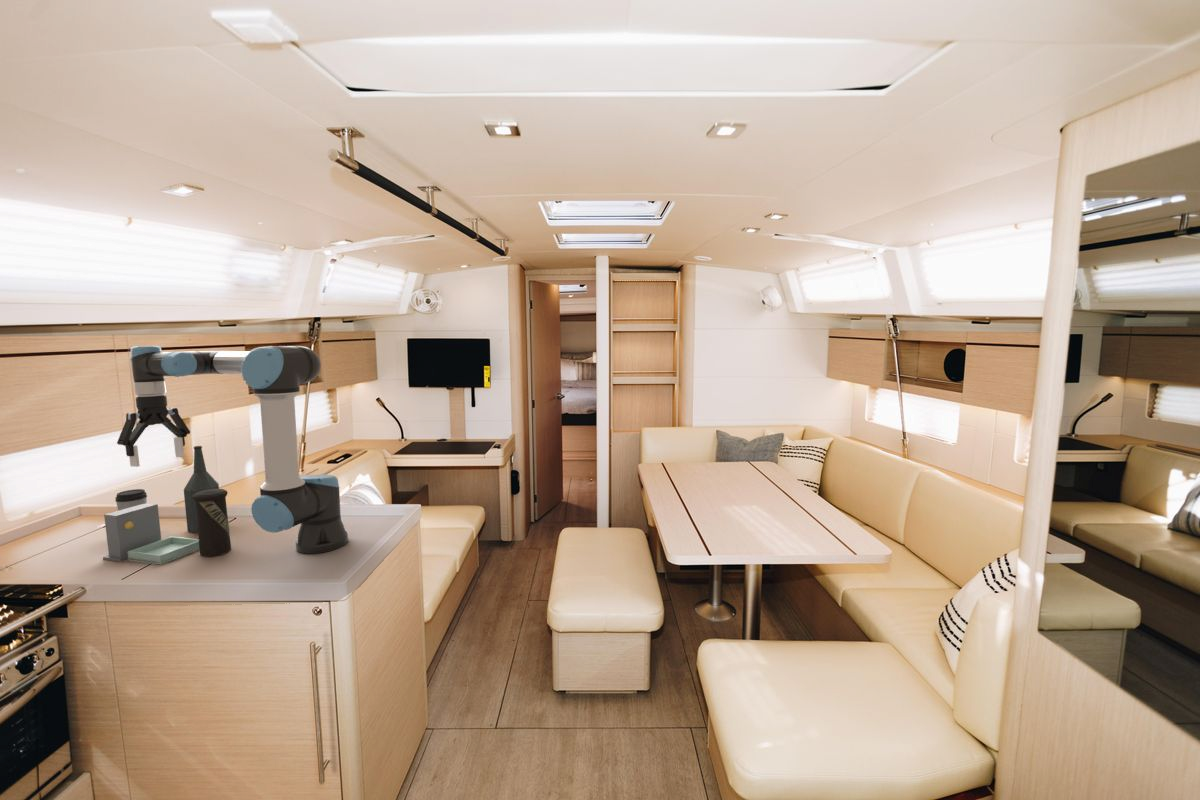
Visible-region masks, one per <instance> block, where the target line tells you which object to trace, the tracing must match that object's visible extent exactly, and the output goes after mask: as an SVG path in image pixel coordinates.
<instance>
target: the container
mask: <svg viewBox="0 0 1200 800" xmlns="http://www.w3.org/2000/svg"><path fill="white" fill-rule="evenodd" d="M227 495H228V491H227V490H226V489H225V488H219V489H210V490H204V491H200V492H197V493H195V494H194V495H193V497H192V498H193V500H194V501H195V504H196V514H197V526H198V533H197V536H198V538H197V539H199V550H198V551H199V555H200V556H202V557H215V556H221V555H225V554H226V553H228V552H230V551H231V550H232V546H231V545H232V542H231V535H230V534H231V533H230V527H229V526H230V524H229V517H228V516H229V515H228V508H227V507H228V506H227V498H226V497H227Z"/></svg>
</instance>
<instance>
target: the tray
mask: <svg viewBox="0 0 1200 800" xmlns="http://www.w3.org/2000/svg"><path fill="white" fill-rule="evenodd" d="M197 551H199V538H192V537H191V538H190V537H181V536H172V535H171V536H168V537H166V538H163V539H162V538H161V540H160V541H157V542H154V543H151V544H148V545H145V546H142V547H139V548H136V549H134V550H131V551H128V559H127V561H131V562H137V563H138V562H139V563H146V564H152V565H153V564H154V565H161V566H162V565H164V564H166V563H169V562H171V561H174V560H177V559H180V558H182V557H185V556H187V555H190V554H192V553H194V552H197Z"/></svg>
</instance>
